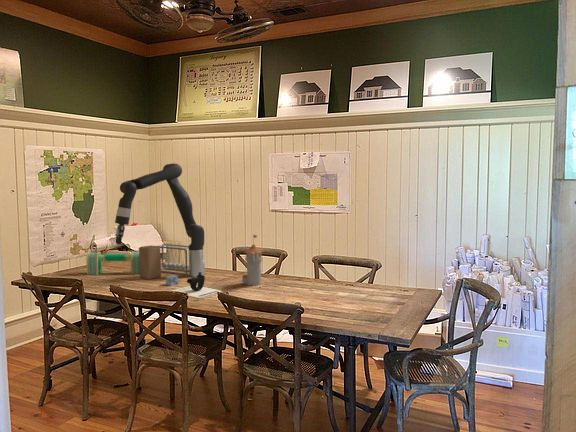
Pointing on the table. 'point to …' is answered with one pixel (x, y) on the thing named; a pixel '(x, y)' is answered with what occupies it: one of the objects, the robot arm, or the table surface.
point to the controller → (195, 280)
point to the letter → (200, 293)
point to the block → (149, 262)
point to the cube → (172, 280)
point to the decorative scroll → (96, 260)
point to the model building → (253, 265)
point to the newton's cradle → (174, 265)
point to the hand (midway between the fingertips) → (118, 243)
